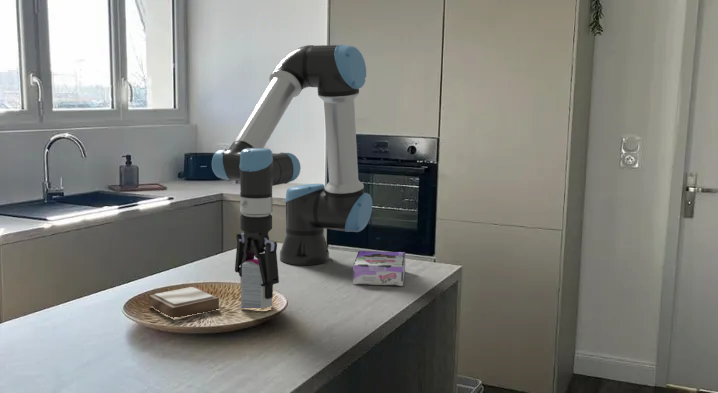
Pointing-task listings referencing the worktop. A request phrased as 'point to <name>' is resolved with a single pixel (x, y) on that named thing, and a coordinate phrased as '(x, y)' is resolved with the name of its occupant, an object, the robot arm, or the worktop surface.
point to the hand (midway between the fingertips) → (256, 306)
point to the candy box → (379, 268)
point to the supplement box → (251, 284)
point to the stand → (184, 302)
